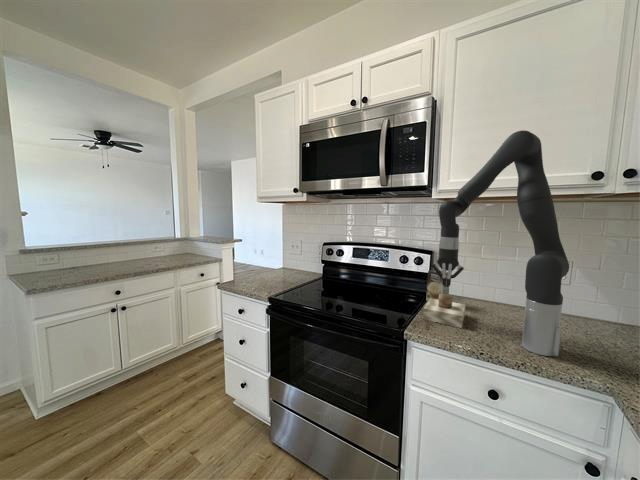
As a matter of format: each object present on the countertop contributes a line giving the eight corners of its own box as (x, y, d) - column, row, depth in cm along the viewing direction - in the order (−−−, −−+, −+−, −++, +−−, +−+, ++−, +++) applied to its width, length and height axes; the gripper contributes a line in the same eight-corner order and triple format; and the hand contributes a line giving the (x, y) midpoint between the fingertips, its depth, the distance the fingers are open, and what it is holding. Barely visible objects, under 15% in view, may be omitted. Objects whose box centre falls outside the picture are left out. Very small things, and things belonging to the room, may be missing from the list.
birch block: (464, 315, 119) (465, 304, 118) (461, 328, 105) (462, 316, 105) (429, 308, 127) (430, 298, 126) (422, 319, 114) (423, 308, 113)
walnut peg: (451, 315, 117) (453, 294, 116) (450, 319, 112) (451, 298, 111) (438, 312, 120) (439, 292, 119) (436, 316, 115) (438, 295, 114)
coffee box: (425, 300, 138) (427, 270, 136) (432, 298, 142) (434, 269, 140) (441, 305, 131) (443, 274, 129) (448, 303, 134) (450, 272, 133)
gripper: (467, 247, 112) (464, 287, 114) (433, 245, 120) (431, 282, 121) (465, 249, 106) (462, 291, 108) (430, 247, 113) (428, 286, 115)
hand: (446, 286), depth 115 cm, fingers closed
